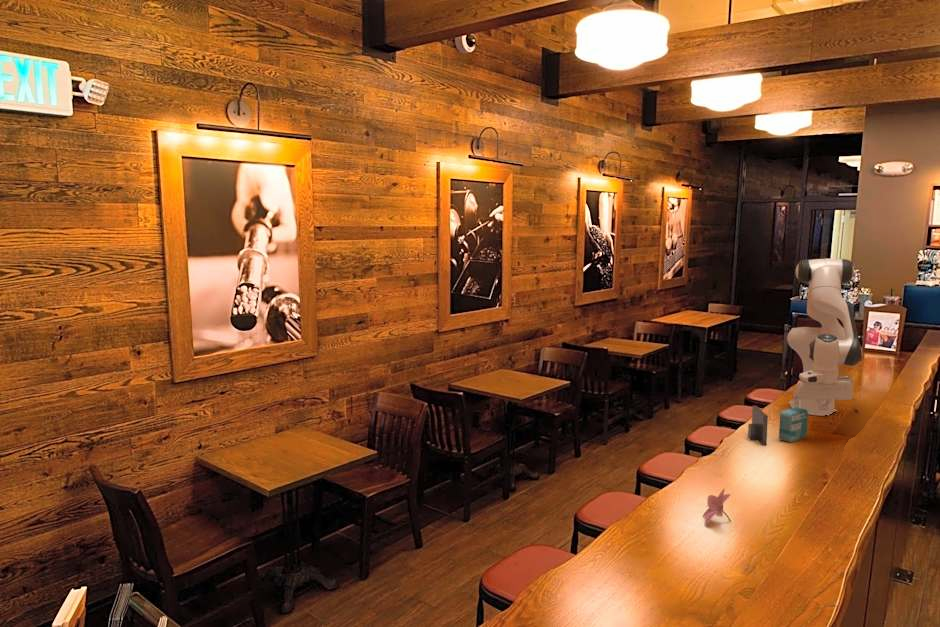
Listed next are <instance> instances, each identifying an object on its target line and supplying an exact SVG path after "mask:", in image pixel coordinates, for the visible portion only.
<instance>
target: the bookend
mask: <svg viewBox="0 0 940 627" xmlns="http://www.w3.org/2000/svg"><path fill="white" fill-rule="evenodd" d="M751 412H752V414H751V415H752V416H751V423H748V424H747V426H748V430H747V438H748V440H749V439H750V440H749V441H757V440H758V443H760V444H761V445H762V446H767V439H768V421H769V420H768V419H769V416H768V415H767V414H766V413H765V412H764V411H763V410H762V409H761V408H760V407H759V406H758V405H752V411H751Z"/></svg>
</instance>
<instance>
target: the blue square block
mask: <svg viewBox="0 0 940 627" xmlns="http://www.w3.org/2000/svg"><path fill="white" fill-rule="evenodd" d="M808 415H809V414H808V411H807V410H806V409H802V408H798V407H794V408H788V409H783V410H782V411H780V415H779V428H778V432H779V433H778V438H779V440H781V439H782V440H781V441H784V440H785V441H784V442H787V441H788V442H787V443H793V441H794V442H797V441H799V440H802V439H805V438H806V437H807V434H808V417H809V416H808Z"/></svg>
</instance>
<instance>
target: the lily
mask: <svg viewBox="0 0 940 627" xmlns="http://www.w3.org/2000/svg"><path fill="white" fill-rule="evenodd" d="M725 489H726V488H725V487H724V488H723V489H722V490H721V491H720V492H719V494H718V496H717V495H714V494H709V495H708V497H707V500H706V501H707V507H708V508H707V509H706V510H705V511H704V513H703V514H702V517H705V520H704V528H705V527H707V525H708V524H709V523H710V521H711V519H713V517H714V516H716V517H720V518H722V517H723V514H724V515H725V516H726V517H727V519H728V521H729V522H730V523H731V522H732V521H731V519H730V517H729V516H728V514H727V513H726V512H725V510H724V503H725V502H726V501H727V500H728V499H729V498H730V497H731V493H727V494H724V493H725Z"/></svg>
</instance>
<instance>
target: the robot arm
mask: <svg viewBox="0 0 940 627" xmlns="http://www.w3.org/2000/svg"><path fill="white" fill-rule="evenodd" d="M854 275H855V267H854V264H853V262H852V261H851V259H846V258H842V259H839V258H827V257H826V258H816V259H815V258H814V259H808V258H807V259H802V260H800V261H799V262H798V263H797V265H796V268H795V276H796V279H797V280H798V282H799V283H803V284H809V285H808V290H807V299H806V300H807V301H806V302H807V303H806V314H807V316H808V317H809V318H811V319H812V320H814V321H817V322H819V323H820V325H821V327H812V326H811V327H810V326H800V327H799V326H798V327H793V328H791V330H789V332H788V333H787V337H786V341H787V344H788V345H789V347H790V348H791V349H792V350H793V351H795V352H796V353H797V355H799V357H800V359H801V362H802V368H803V370H802V371H803V372H801V373H799V375H798V377H799V380H798V381H797V383H796V387H795V392H794V394H792V400H789V401H788V404H789V406H790V407H791V408H794V407H798V408H802V409H806V410H807V411H808V415H811V416H822V417H823V416H824V417H825V415H827V416H831V415H830V414H832V413H833V412H835V411H837V412H838V409H836V408H835V401H836V400H838V401H839V400H842V401H844V400H852V399H853V398H854V389H853V385H854V379H853V377H851V376H849V375H839V365H844V366H850V367H853V366H856V365H858V364H859V363H860V362H861V361H862V359H863V355H864V353H863V348H862V346H861V343H860V339H859V335H858V334H859V333H858V330H857V325H856V320H855V315H854V312H853V308H852V306H851V305H850V303H848V301H846V300H845V299H844V298H843V295H842V285H844V284H848V283H849V282H851V281H852V279H853V277H854ZM838 319H839V320H840V321H841V323H842V324H840V322H839V320H838ZM791 408H790V409H791ZM833 414H834V413H833ZM833 414H832V415H833Z"/></svg>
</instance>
